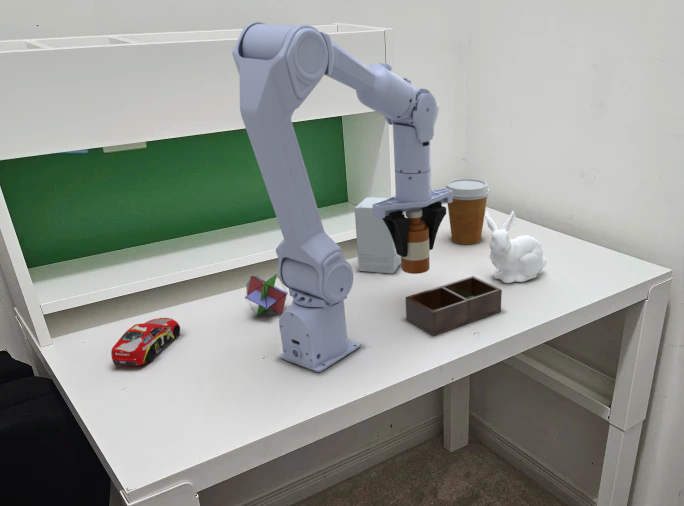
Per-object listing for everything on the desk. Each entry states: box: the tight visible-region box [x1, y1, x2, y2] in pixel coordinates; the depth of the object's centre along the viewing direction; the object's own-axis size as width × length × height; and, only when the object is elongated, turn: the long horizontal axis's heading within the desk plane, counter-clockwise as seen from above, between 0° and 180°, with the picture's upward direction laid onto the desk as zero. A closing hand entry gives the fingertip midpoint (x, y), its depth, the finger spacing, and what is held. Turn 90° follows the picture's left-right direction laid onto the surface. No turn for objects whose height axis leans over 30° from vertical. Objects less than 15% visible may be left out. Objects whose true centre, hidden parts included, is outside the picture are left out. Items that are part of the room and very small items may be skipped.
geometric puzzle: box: [243, 273, 289, 318], centre depth 110 cm, size 7×7×8 cm
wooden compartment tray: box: [405, 275, 503, 337], centre depth 110 cm, size 14×8×4 cm, turn 128°
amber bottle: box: [400, 208, 431, 275], centre depth 110 cm, size 5×5×10 cm
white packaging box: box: [354, 196, 401, 275], centre depth 126 cm, size 7×7×13 cm
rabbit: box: [484, 210, 548, 284], centre depth 123 cm, size 12×9×12 cm
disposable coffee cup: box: [445, 178, 490, 245], centre depth 140 cm, size 10×10×12 cm
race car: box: [110, 317, 181, 367], centre depth 100 cm, size 13×5×4 cm, turn 170°
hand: (415, 251), depth 111 cm, fingers closed on amber bottle, 5 cm apart
